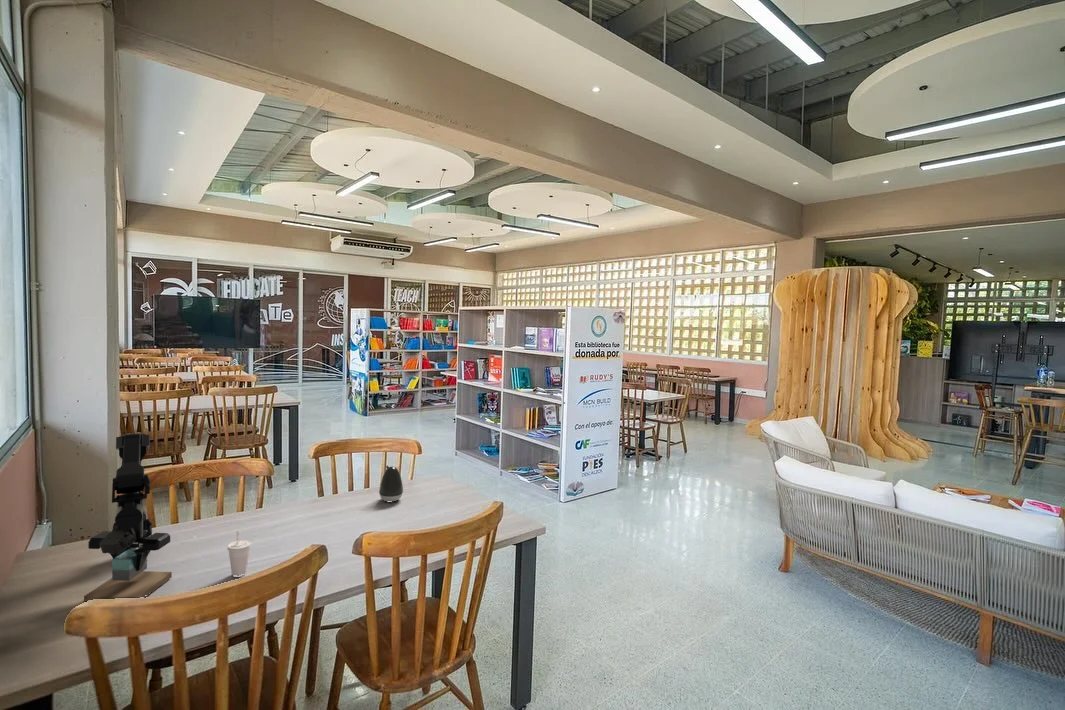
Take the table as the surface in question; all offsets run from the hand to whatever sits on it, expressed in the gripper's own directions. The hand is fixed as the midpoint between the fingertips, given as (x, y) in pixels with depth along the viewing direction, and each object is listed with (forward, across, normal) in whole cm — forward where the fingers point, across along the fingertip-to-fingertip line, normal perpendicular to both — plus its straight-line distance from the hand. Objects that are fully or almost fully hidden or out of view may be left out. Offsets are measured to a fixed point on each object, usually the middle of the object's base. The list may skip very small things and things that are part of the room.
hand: (130, 570), depth 145 cm
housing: (+1, 0, 0) cm, 1 cm away
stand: (+6, 0, 0) cm, 6 cm away
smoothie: (+6, +25, +10) cm, 28 cm away
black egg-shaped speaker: (+6, +56, +78) cm, 96 cm away
